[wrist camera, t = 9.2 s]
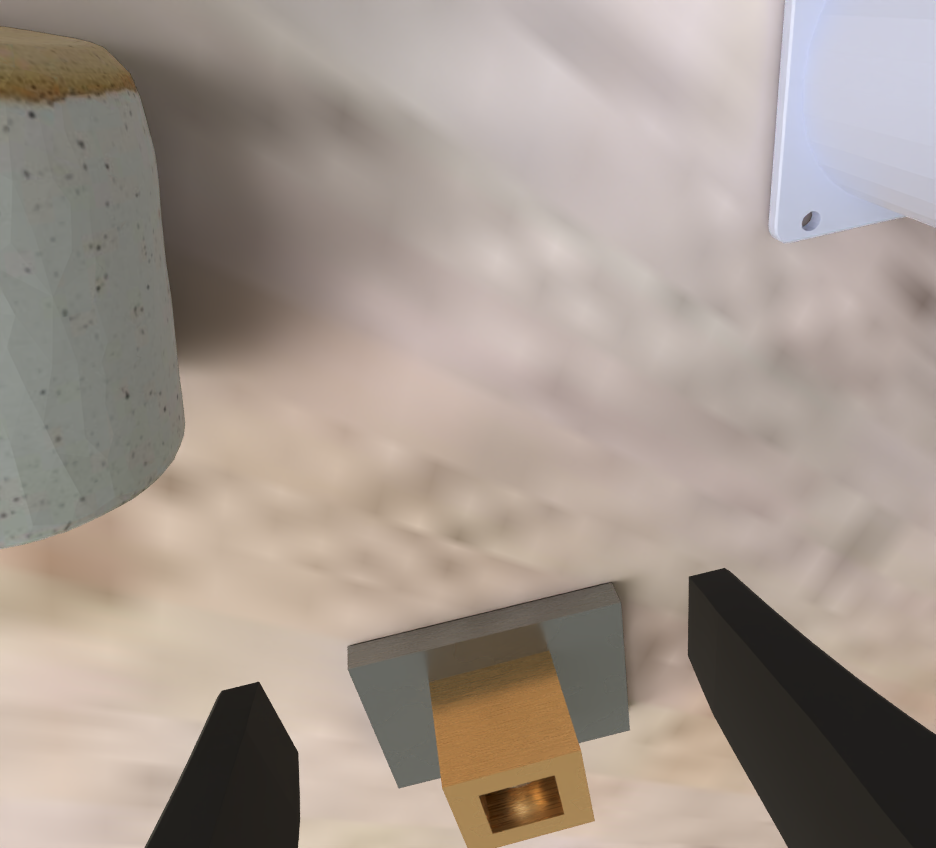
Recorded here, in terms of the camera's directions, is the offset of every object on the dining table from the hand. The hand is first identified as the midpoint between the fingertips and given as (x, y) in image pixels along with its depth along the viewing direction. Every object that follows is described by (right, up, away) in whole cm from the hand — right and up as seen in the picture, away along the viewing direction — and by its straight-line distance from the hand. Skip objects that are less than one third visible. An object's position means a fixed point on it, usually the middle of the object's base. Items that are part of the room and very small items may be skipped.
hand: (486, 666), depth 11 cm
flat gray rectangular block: (+1, -6, +16) cm, 17 cm away
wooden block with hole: (+1, -7, +15) cm, 17 cm away
